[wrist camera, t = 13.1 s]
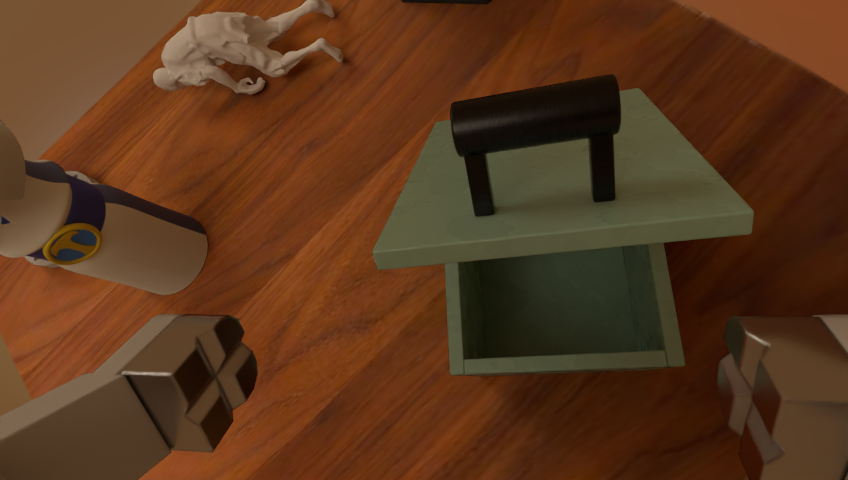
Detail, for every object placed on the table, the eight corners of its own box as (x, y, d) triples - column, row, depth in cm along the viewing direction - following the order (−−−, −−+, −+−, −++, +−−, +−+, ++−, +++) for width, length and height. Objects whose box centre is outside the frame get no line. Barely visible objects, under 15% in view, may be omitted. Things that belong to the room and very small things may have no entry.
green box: (651, 369, 32) (686, 365, 23) (478, 376, 35) (449, 375, 26) (619, 168, 37) (638, 98, 28) (467, 189, 39) (438, 131, 30)
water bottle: (230, 246, 44) (-139, 98, 21) (165, 317, 44) (-279, 246, 21) (183, 193, 47) (-183, 13, 24) (122, 259, 47) (-306, 142, 24)
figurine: (336, 43, 53) (158, 61, 50) (330, -20, 45) (121, -3, 42) (347, 97, 50) (161, 120, 47) (343, 40, 43) (122, 63, 40)
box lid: (753, 235, 14) (772, 65, 12) (376, 271, 17) (336, 138, 15) (639, 101, 27) (638, 9, 25) (438, 134, 30) (421, 54, 28)
